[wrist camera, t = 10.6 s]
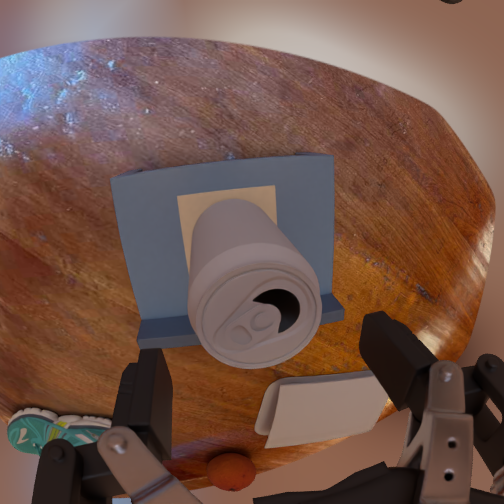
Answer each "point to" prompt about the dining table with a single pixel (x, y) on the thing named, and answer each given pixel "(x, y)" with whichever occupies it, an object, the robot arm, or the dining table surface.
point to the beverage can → (249, 288)
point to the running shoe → (52, 429)
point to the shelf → (189, 210)
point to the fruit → (231, 471)
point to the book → (320, 408)
